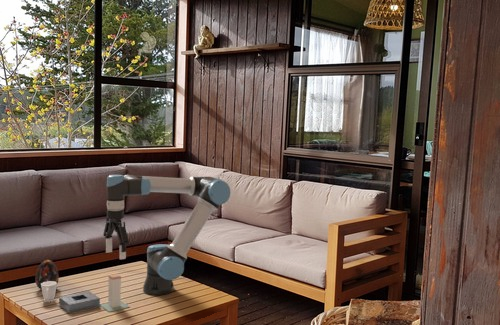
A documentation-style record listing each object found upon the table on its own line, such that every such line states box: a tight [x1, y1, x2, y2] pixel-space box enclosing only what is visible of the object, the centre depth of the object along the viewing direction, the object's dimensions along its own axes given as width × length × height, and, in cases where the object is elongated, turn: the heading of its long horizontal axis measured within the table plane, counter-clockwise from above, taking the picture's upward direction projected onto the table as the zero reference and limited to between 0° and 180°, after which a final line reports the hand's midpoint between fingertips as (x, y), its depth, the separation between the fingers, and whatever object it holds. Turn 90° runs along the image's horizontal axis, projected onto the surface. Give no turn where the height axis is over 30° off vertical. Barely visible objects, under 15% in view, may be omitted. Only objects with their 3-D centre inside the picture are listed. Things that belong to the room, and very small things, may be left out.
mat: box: [100, 301, 130, 313], centre depth 236 cm, size 10×10×1 cm
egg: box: [34, 259, 60, 292], centre depth 254 cm, size 11×11×15 cm
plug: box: [107, 273, 122, 308], centre depth 235 cm, size 4×4×14 cm
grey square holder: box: [58, 290, 101, 314], centre depth 234 cm, size 14×12×4 cm
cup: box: [41, 281, 58, 303], centre depth 239 cm, size 7×10×8 cm
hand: (115, 255), depth 234 cm, fingers open, 13 cm apart
